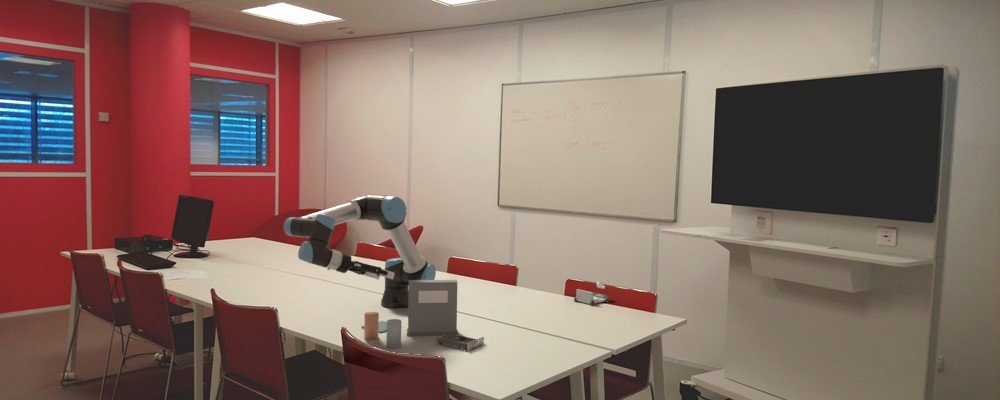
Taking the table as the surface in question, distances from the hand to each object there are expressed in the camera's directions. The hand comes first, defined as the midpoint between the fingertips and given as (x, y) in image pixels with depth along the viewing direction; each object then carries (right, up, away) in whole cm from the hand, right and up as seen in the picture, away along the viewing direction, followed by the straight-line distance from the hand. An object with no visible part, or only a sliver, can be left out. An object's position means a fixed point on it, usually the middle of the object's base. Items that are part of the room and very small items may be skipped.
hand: (386, 276), depth 249 cm
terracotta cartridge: (-6, -24, -3) cm, 25 cm away
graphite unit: (+18, -24, +6) cm, 31 cm away
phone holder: (+96, -22, +70) cm, 120 cm away
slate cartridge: (+5, -25, -14) cm, 29 cm away
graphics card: (+31, -26, -9) cm, 42 cm away
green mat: (-4, -23, +12) cm, 27 cm away
